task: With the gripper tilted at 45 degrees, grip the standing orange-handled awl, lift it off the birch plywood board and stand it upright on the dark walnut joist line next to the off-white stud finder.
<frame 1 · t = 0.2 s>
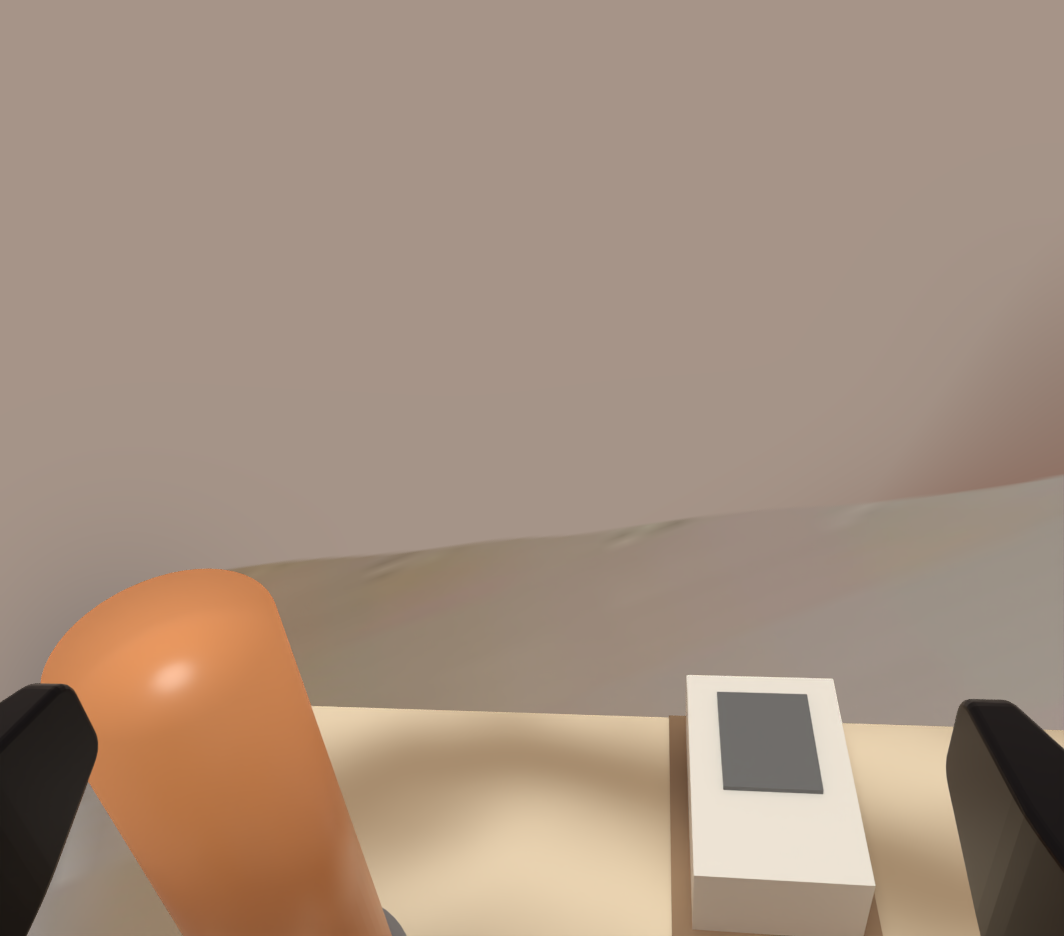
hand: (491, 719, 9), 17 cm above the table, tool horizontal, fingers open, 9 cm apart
stud finder: (764, 823, 24), point 2 cm above the table, touching subfloor board
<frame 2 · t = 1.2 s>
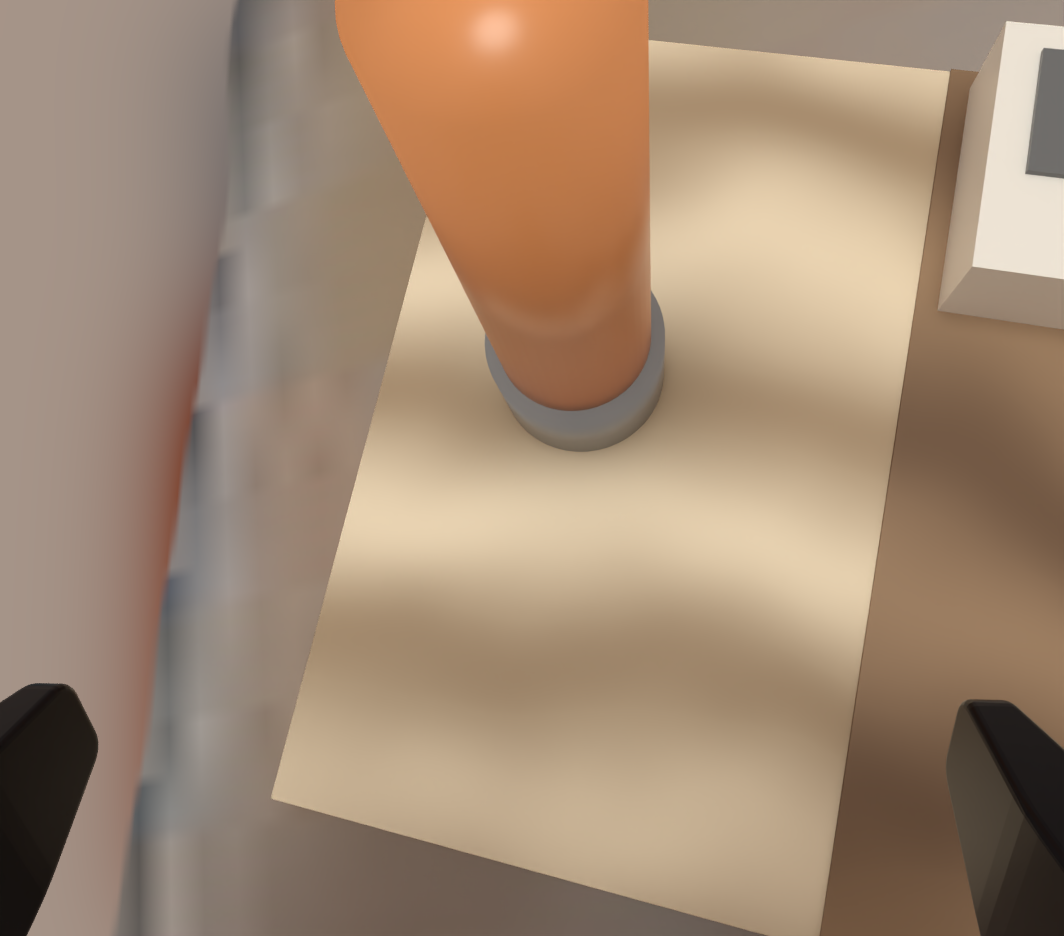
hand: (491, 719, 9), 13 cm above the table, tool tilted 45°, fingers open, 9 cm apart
stud finder: (1041, 208, 21), point 2 cm above the table, touching subfloor board
subfloor board: (853, 478, 22), on the table
awl: (582, 373, 22), point 1 cm above the table, touching subfloor board
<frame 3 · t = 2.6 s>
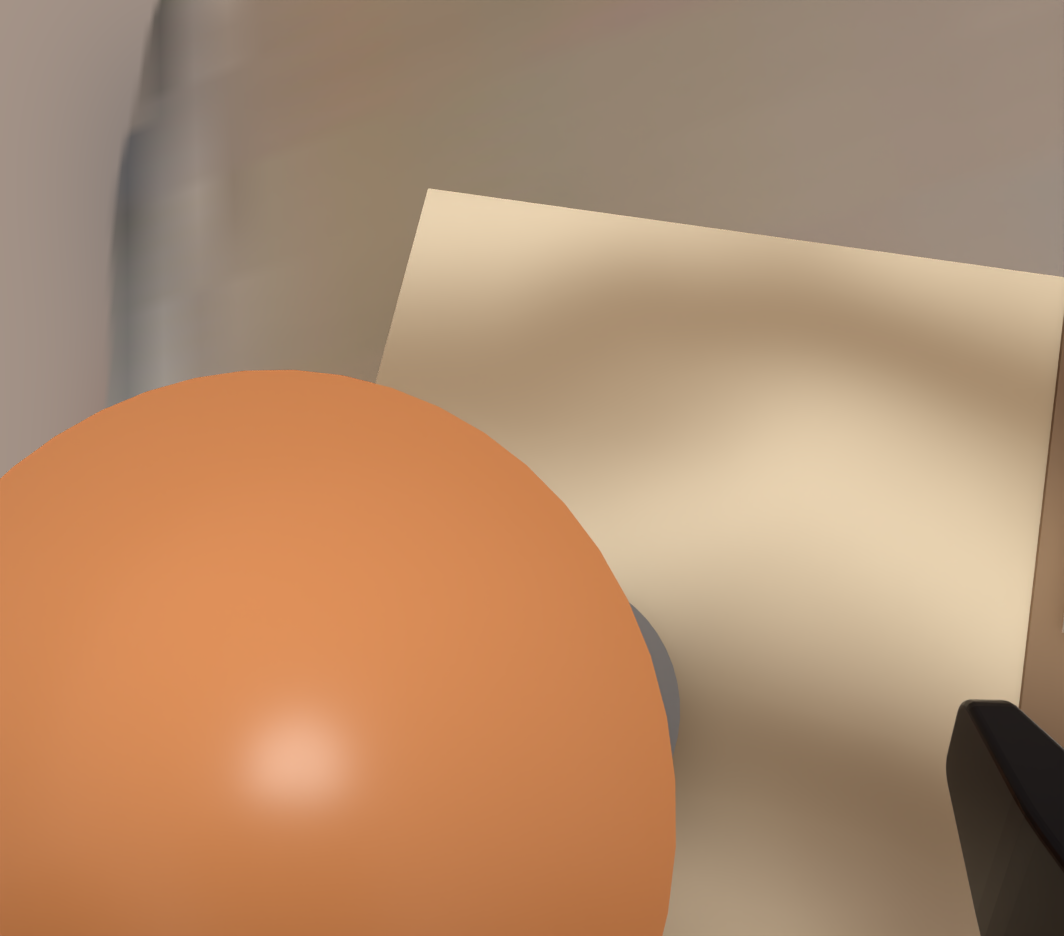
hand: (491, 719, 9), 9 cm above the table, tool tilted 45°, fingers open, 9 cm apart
subfloor board: (939, 845, 16), on the table
awl: (563, 700, 16), point 1 cm above the table, touching subfloor board
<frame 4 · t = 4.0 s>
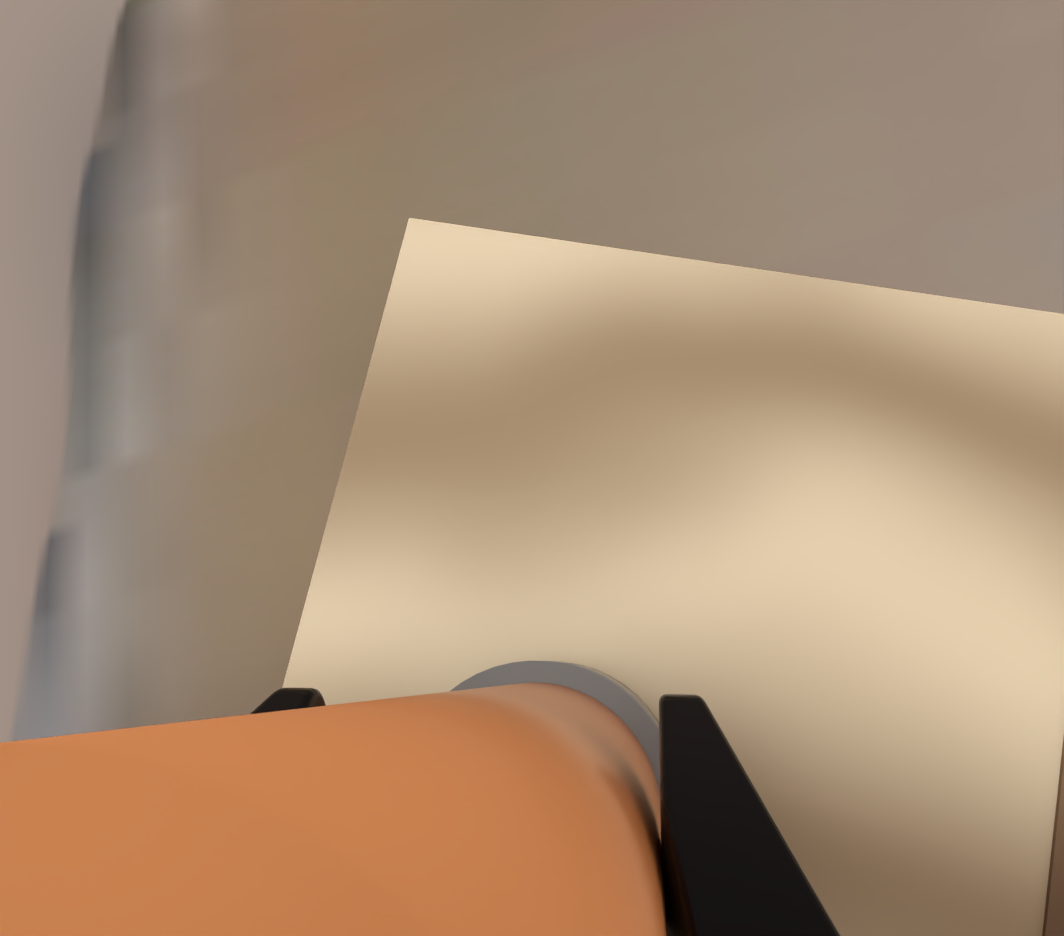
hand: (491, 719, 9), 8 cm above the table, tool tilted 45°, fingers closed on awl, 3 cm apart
awl: (555, 786, 15), point 2 cm above the table, touching gripper, subfloor board
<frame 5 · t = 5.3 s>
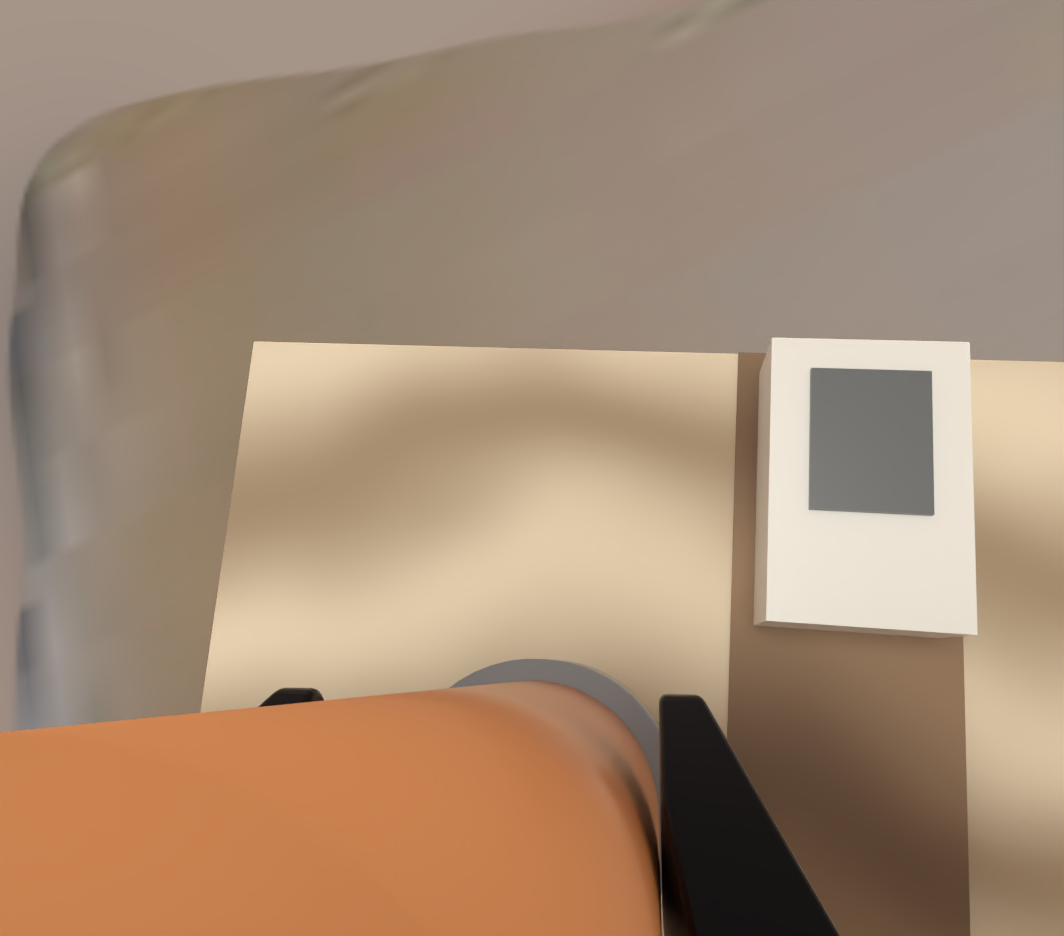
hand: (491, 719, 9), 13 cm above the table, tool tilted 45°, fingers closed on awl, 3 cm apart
stud finder: (845, 499, 21), point 2 cm above the table, touching subfloor board
subfloor board: (698, 796, 21), on the table
awl: (553, 785, 15), point 7 cm above the table, touching gripper
when the fingers open (9 cm above the table, at t = 7.0 s): awl drops 1 cm, resting on subfloor board.
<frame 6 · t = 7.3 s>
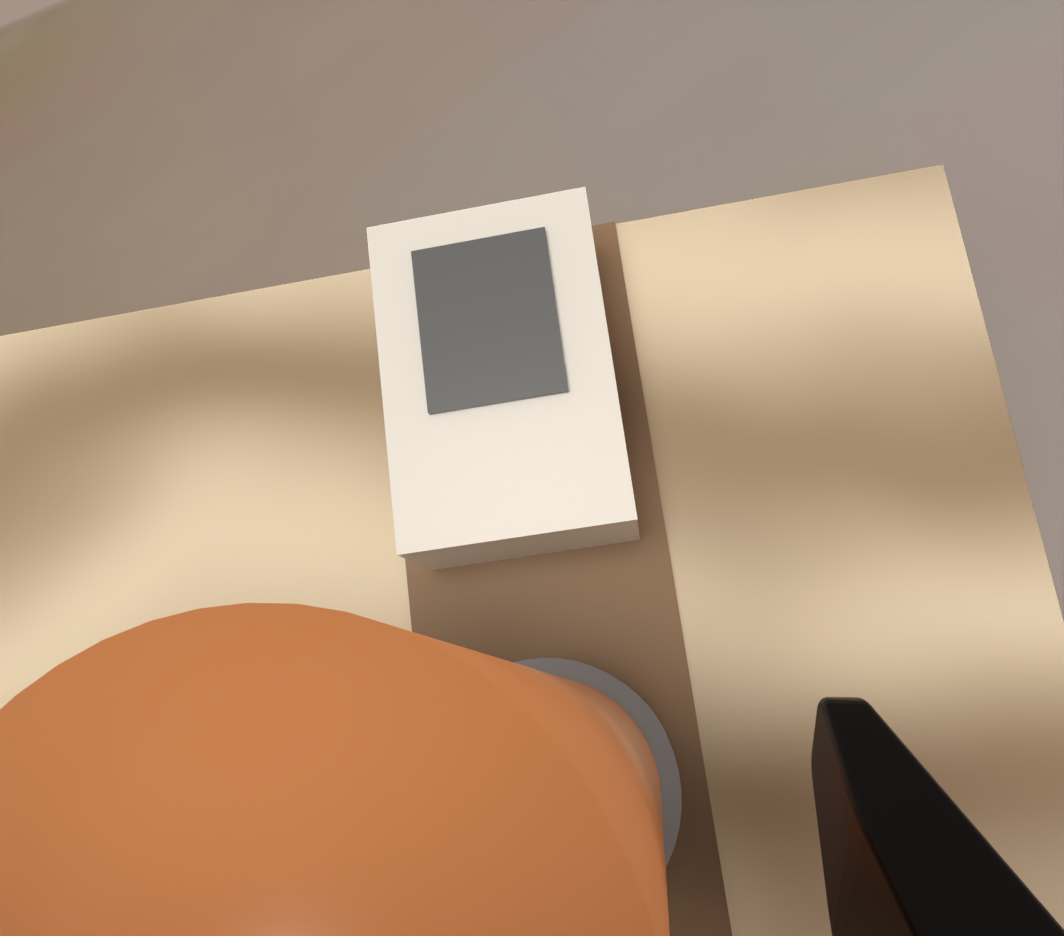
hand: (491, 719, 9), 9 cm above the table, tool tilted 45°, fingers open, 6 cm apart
stud finder: (515, 404, 18), point 2 cm above the table, touching subfloor board
subfloor board: (422, 784, 18), on the table
awl: (563, 779, 16), point 2 cm above the table, touching subfloor board
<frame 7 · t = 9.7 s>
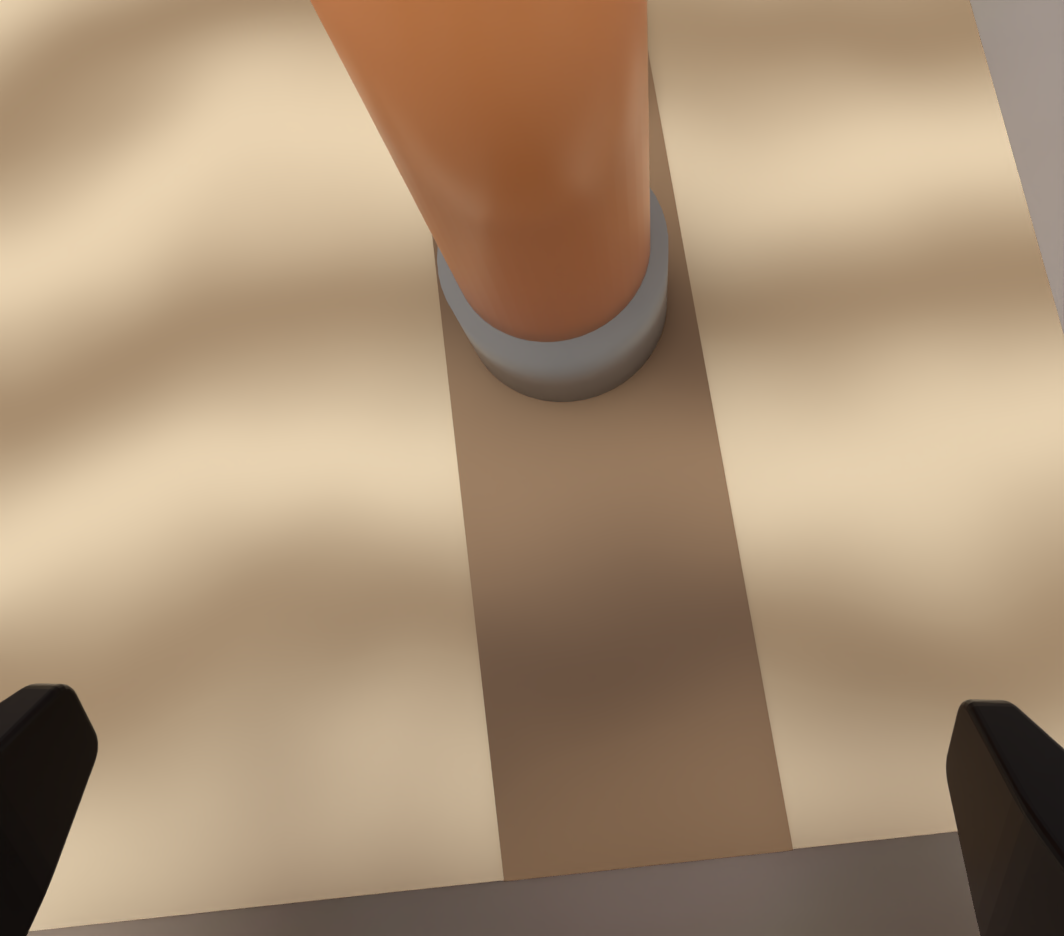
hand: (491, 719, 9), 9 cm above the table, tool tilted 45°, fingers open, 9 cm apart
subfloor board: (436, 354, 20), on the table
awl: (565, 305, 18), point 2 cm above the table, touching subfloor board
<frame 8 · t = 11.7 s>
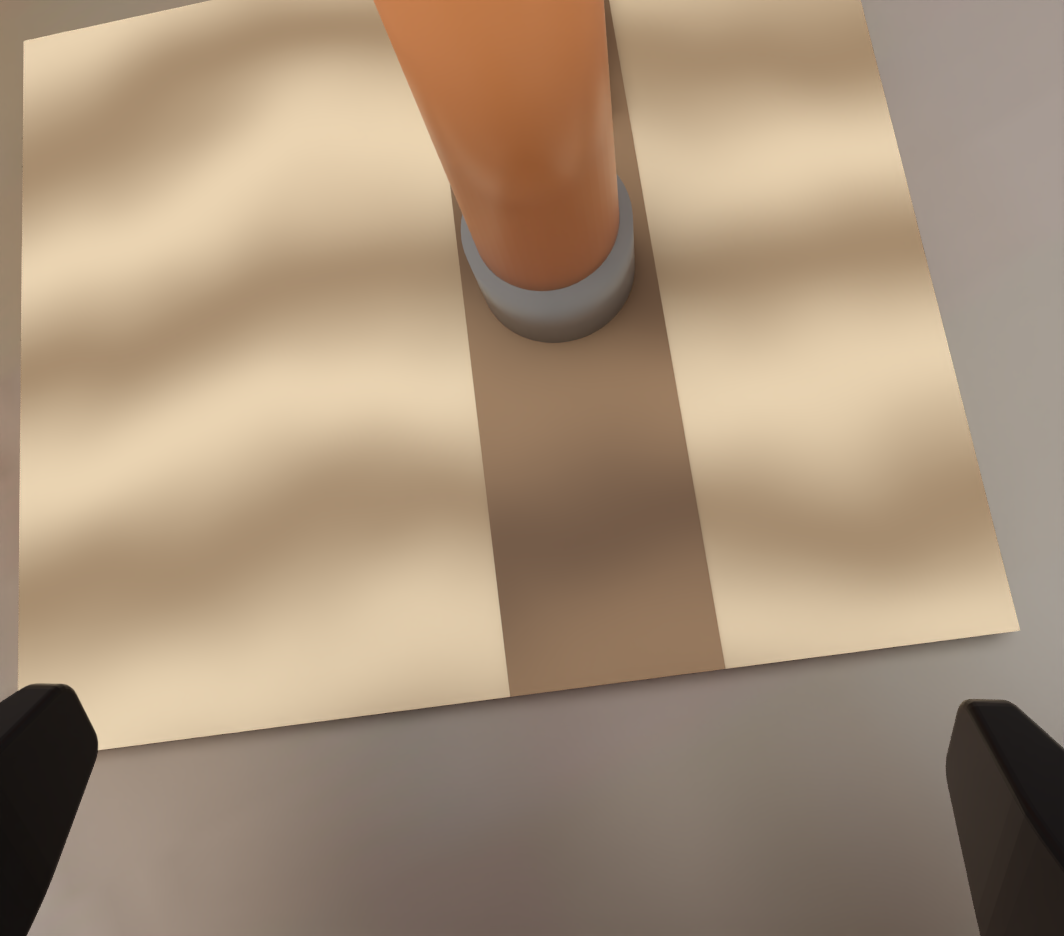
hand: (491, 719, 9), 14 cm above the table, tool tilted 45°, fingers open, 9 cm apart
subfloor board: (456, 311, 25), on the table
awl: (556, 269, 23), point 2 cm above the table, touching subfloor board
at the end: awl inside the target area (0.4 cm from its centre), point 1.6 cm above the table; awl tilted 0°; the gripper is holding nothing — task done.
